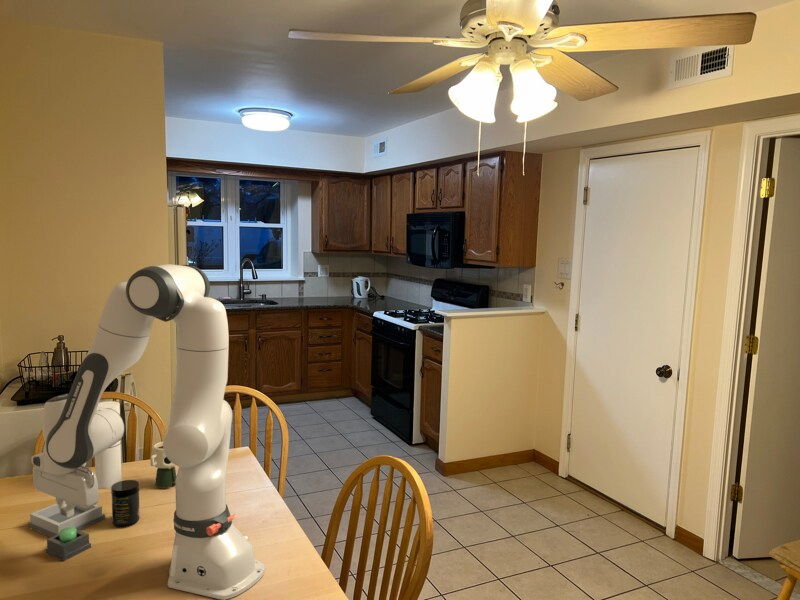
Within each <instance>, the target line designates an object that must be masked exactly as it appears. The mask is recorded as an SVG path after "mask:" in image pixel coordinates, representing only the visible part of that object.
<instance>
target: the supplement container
mask: <svg viewBox="0 0 800 600" xmlns="http://www.w3.org/2000/svg"><path fill="white" fill-rule="evenodd" d="M110 489H111V511H112V512H111V515H112V516H111V518H112V519H111V520H112V525H113V526H114V527H116V528H127V527H132V526H134V525H136V524H137V523H138V522H139V520H140V518H141V515H140V514H141V513H140V482H139V481H138V480H135V479H126V480H125V479H124V480H122V481H120V482H117V483H115V484H113V485H112V486H111V488H110Z"/></svg>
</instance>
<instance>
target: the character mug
mask: <svg viewBox="0 0 800 600" xmlns="http://www.w3.org/2000/svg"><path fill="white" fill-rule="evenodd" d="M163 442H164V440H163V441H159V442H157V443H155V444H154V445H152V452H153V454H152V455H151V456H150V459H149V460H150V466H151V467H154V468H157V469H156V474H155V475H156V476H155V484H154V485H155V486H156V487H159V488H160V489H166V488H167V489H168V488H172V487H173V483H174V486H176V476H177V472H176V466H177V465H175V464H173V463H172V462H171V461H169V459H168V458H167V457H166V455H165V453H164V449H163Z"/></svg>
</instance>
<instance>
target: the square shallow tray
mask: <svg viewBox="0 0 800 600" xmlns="http://www.w3.org/2000/svg"><path fill="white" fill-rule="evenodd" d="M29 519H30V521H29V522H27V524H26V525H27V528H28V529H31V528H32V530H33V529H34V531H36V532H38V531H39V532H38V533H40V532H41V533H40V534H43V535H46V536H47V535H48V536H47V537H49V538H51V537H53V536H55V535H57V534H59V532H60V531H61V530H62V529H64V528H68V527H75V528H76V529H77V530H80V531H82V530H83V529H85V528H88V527H90V526H92V525H94V524H96V523H98V522H100V521H103V520H105V519H106V514H104V513H103V506H102V505H99V504H98V503H97V504H95V505H93V506H90V507H88V508H82V507H79V506H77V505H76V506H75V508H74V515H73V516H71V517H66V516H63V515H61V514H60V510H59V507H58V504H57V502H56V503H54V504H53V503H52V504H51V505H49V506H45V507H44V508H41V509H39V510H36V511H34V512H31V513H30V514H29Z"/></svg>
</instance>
